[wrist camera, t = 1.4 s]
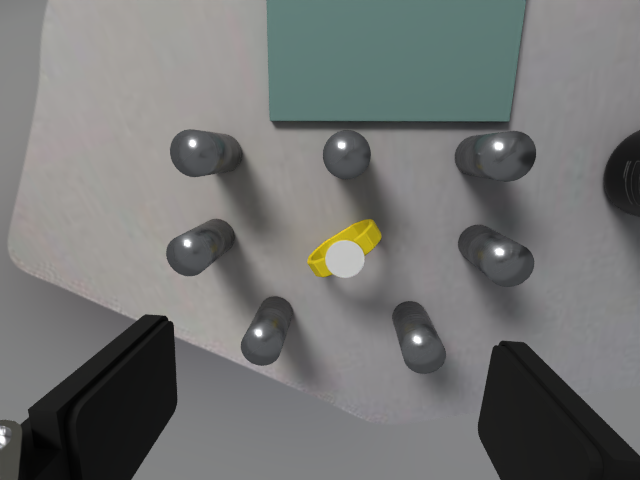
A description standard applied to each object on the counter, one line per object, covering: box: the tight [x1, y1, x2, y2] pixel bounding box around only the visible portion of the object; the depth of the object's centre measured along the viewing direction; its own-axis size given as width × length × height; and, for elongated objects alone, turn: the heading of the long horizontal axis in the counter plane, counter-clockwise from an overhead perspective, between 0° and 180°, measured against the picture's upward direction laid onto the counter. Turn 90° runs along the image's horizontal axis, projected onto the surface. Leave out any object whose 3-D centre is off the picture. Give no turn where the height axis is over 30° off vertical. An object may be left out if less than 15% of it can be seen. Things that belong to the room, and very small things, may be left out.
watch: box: [307, 219, 381, 278], centre depth 27 cm, size 6×3×6 cm, turn 123°
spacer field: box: [166, 129, 536, 374], centre depth 26 cm, size 25×17×6 cm
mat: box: [267, 0, 526, 122], centre depth 25 cm, size 18×10×1 cm, turn 89°
